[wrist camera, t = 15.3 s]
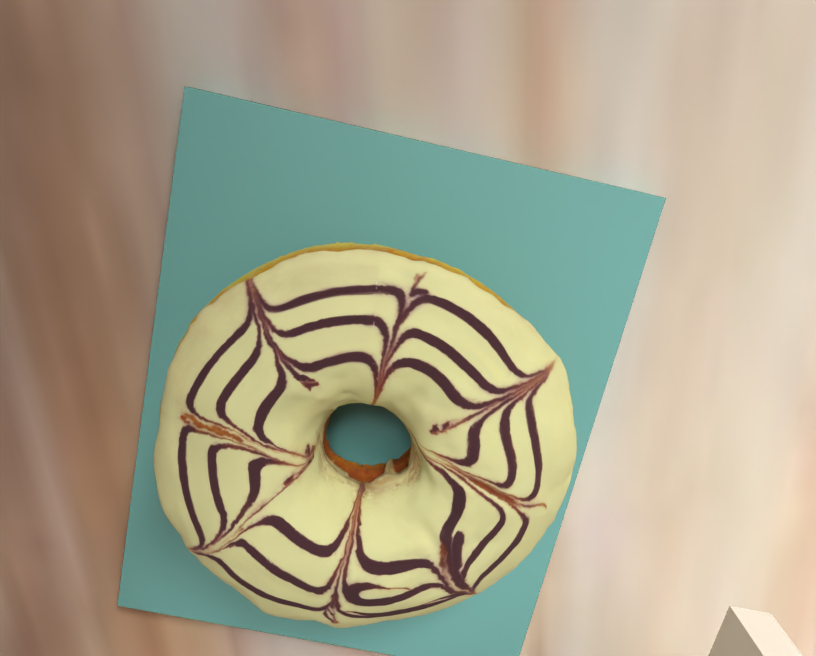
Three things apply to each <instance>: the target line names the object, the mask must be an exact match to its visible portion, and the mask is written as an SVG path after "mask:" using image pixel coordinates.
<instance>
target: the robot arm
mask: <svg viewBox="0 0 816 656" xmlns="http://www.w3.org/2000/svg"><path fill="white" fill-rule="evenodd" d="M709 656H802V655H801V653H800V652H799V651H798V649H797V648H796V647H795V645H794V644H793V643H792V641H791V640H790V639H789V637H788V636H787V635H786V633H785V632H784V631H783V629H782V628H781V626H780V625H779V624H778V622H777V621H776V620H775V618H774V617H773V616H772V614H771V613H766V612H760V611H755V610H750V609H744V608H739V607H734V606H729V609H728V611H727V613H726V616H725V618H724V621H723V623H722V625H721V628H720V630H719V632H718V635H717V637H716V639H715V642H714V644H713V646H712V649H711V651H710V653H709Z"/></svg>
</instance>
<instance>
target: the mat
mask: <svg viewBox="0 0 816 656" xmlns="http://www.w3.org/2000/svg"><path fill="white" fill-rule="evenodd" d="M665 199H666V198H663V197H659V196H655V195H651V194H646V193H642V192H638V191H633V190H629V189H625V188H621V187H616V186H612V185H608V184H603V183H599V182H595V181H590V180H586V179H582V178H578V177H573V176H569V175H565V174H560V173H556V172H552V171H547V170H543V169H539V168H535V167H530V166H526V165H522V164H517V163H513V162H509V161H504V160H500V159H496V158H492V157H487V156H483V155H479V154H474V153H470V152H466V151H462V150H457V149H453V148H449V147H444V146H440V145H436V144H431V143H427V142H423V141H419V140H414V139H410V138H406V137H401V136H397V135H393V134H388V133H384V132H380V131H376V130H371V129H367V128H363V127H358V126H354V125H350V124H345V123H341V122H337V121H333V120H328V119H324V118H320V117H315V116H311V115H307V114H302V113H298V112H294V111H290V110H285V109H281V108H277V107H272V106H268V105H264V104H259V103H255V102H251V101H247V100H242V99H238V98H234V97H229V96H225V95H221V94H216V93H212V92H208V91H204V90H199V89H195V88H191V87H186V86H185V87H184V95H183V103H182V110H181V118H180V126H179V133H178V141H177V149H176V157H175V164H174V172H173V180H172V187H171V195H170V203H169V211H168V218H167V226H166V234H165V241H164V249H163V257H162V265H161V272H160V280H159V288H158V296H157V303H156V311H155V319H154V326H153V334H152V342H151V350H150V357H149V365H148V373H147V380H146V388H145V396H144V404H143V411H142V419H141V427H140V435H139V442H138V450H137V458H136V465H135V473H134V481H133V489H132V496H131V504H130V512H129V519H128V527H127V535H126V543H125V550H124V558H123V566H122V574H121V581H120V589H119V597H118V604H117V606H122V607H127V608H133V609H138V610H144V611H149V612H155V613H160V614H166V615H172V616H177V617H183V618H188V619H194V620H199V621H205V622H210V623H216V624H222V625H227V626H233V627H238V628H244V629H249V630H255V631H260V632H266V633H272V634H277V635H283V636H288V637H294V638H299V639H305V640H310V641H316V642H322V643H327V644H333V645H338V646H344V647H349V648H355V649H360V650H366V651H372V652H377V653H383V654H388V655H394V656H519V654H520V651H521V648H522V645H523V642H524V639H525V636H526V633H527V629H528V626H529V623H530V620H531V617H532V614H533V611H534V608H535V605H536V601H537V598H538V595H539V592H540V589H541V586H542V583H543V580H544V576H545V573H546V570H547V567H548V564H549V561H550V558H551V555H552V552H553V548H554V545H555V542H556V539H557V536H558V533H559V530H560V527H561V523H562V520H563V517H564V514H565V511H566V508H567V505H568V502H569V499H570V495H571V492H572V489H573V486H574V483H575V480H576V477H577V474H578V471H579V467H580V464H581V461H582V458H583V455H584V452H585V449H586V446H587V442H588V439H589V436H590V433H591V430H592V427H593V424H594V421H595V418H596V414H597V411H598V408H599V405H600V402H601V399H602V396H603V393H604V389H605V386H606V383H607V380H608V377H609V374H610V371H611V368H612V365H613V361H614V358H615V355H616V352H617V349H618V346H619V343H620V340H621V337H622V333H623V330H624V327H625V324H626V321H627V318H628V315H629V312H630V308H631V305H632V302H633V299H634V296H635V293H636V290H637V287H638V284H639V280H640V277H641V274H642V271H643V268H644V265H645V262H646V259H647V256H648V252H649V249H650V246H651V243H652V240H653V237H654V234H655V231H656V227H657V224H658V221H659V218H660V215H661V212H662V209H663V206H664V203H665ZM336 242H339V243H345V242H347V243H350V242H353V243H356V244H369V245H372V244H377V245H382V246H387V247H391V248H395V249H398V250H402V251H406V252H408V253H412V254H416V255H418V256H422V257H428V258H433V259H436V260H438V261H441V262H443V263H446V264H448V265H450V266H451V267H455V268H458V269H460V270H461V271H463V272H464V273H466V274H467V275H469V276H470V277H472V278H474V279H476V280H477V281H479V282H481V283H482V284H483V285H485V286H486V287H487V288H489V289H490V290H492V291H493V292H494V293H496V294H497V295H498V296H500V297H501V298H502V299H503V300H504V301H505V302H506V303H507V304H508V305H509V306H511V307H512V308H513V309H514V310H515V311H516V312H517V313H518V314H519V315H521V316H522V317H523V318H524V319H525V320H527V321H529V322H530V323H531V324H532V325H533V327H535V329H536V331H537V332H538V333H539V334H540V336H541V337H542V338H543V340H544V341H545V342H546V343H547V344H548V345H549V346H550V347H551V349H552V350H553V351H554V352H555V353H556V354H557V355H558V356H559V357H560V359H561V361H562V363H563V365H564V367H565V369H566V372H567V376H568V382H569V391H570V395H571V400H572V406H573V417H574V426H575V429H576V437H577V453H576V459H575V464H574V467H573V471H572V476H571V481H570V484H569V486H568V489H567V492H566V495H565V497H564V499H563V502H562V504H561V506H560V508H559V510H558V512H557V514H556V517H555V519H554V521H553V522H552V524H551V525H550V526H549V527H548V528H547V530H546V531H545V533H544V534H543V536H542V538H541V539H540V540H539V541H538V543H537V544H536V545H535V547H534V548H533V550H532V551H531V552H530V553H529V554H528V556H527V557H526V558H525V559H524V560H523V561H522V562H520V563H519V565H518V566H517V567H516V568H514V569H513V570H512V571H511V572H509V573H508V574H506V575H505V576H503V577H502V578H501V579H499V580H498V581H497V582H496V583H494V584H493V585H491V586H490V587H488V588H487V589H485V590H484V591H482V592H481V593H479V594H476V595H474V596H472V597H470V598H468V599H466V600H464V601H462V602H460V603H458V604H455V605H453V606H451V607H448V608H445V609H442V610H439V611H436V612H432V613H429V614H426V615H421V616H415V617H411V618H405V619H400V620H387V621H382V622H378V623H373V624H368V625H361V626H354V627H349V628H334V627H331V626H329V625H326V624H323V623H321V622H318V621H315V620H293V619H288V618H283V617H276V616H273V615H269V614H266V613H264V612H263V611H261V610H260V609H259V608H258V607H257V606H256V605H254V604H253V603H252V602H251V601H250V600H249V599H247V598H246V597H245V596H243V595H242V594H241V593H239V592H238V591H237V590H235V589H234V588H233V587H232V586H230V585H228V584H227V583H225V582H224V581H222V580H221V579H220V578H219V577H217V576H216V575H214V574H213V573H212V572H211V571H210V570H209V569H208V568H206V567H205V566H204V565H202V564H201V562H200V561H199V560H198V558H197V557H196V556H195V555H193V554H192V553H191V552H190V551H189V550H188V549H187V547H186V546H185V544H184V542H183V539H182V537H181V535H180V534H179V533H178V532H177V530H176V529H175V528H174V526H173V525H172V524H171V523H170V521H169V519H168V518H167V516H166V515H165V513H164V512H163V509H162V507H161V503H160V500H159V495H158V490H157V483H156V477H155V472H154V448H155V442H156V438H157V435H158V430H159V419H160V404H161V400H162V397H163V392H164V388H165V382H166V378H167V371H168V368H169V366H170V364H171V362H172V360H173V358H174V355H175V352H176V350H177V347H178V344H179V342H180V340H181V339H182V338H183V337H184V335H185V334H186V332H187V330H188V327H189V324H190V322H191V321H192V320H193V319H194V317H195V316H196V315H197V314H198V313H199V311H201V310H202V309H203V308H204V307H205V306H206V305H207V304H208V303H209V302H210V301H211V300H212V299H213V298H215V297H216V296H217V295H218V294H219V293H220V292H221V291H222V290H223V289H225V288H226V287H228V286H229V285H230V284H232V283H233V282H235V281H236V280H237V279H239V278H241V277H242V276H244V275H245V274H247V273H249V272H250V271H252V270H253V269H255V268H257V267H259V266H261V265H263V264H266V263H267V262H269V261H273V260H274V259H276V258H278V257H280V256H284V255H287V254H289V253H291V252H294V251H297V250H301V249H304V248H307V247H312V246H316V245H325V244H335V243H336ZM326 432H327V433H326V439H327V440H328V441H329V446H330V448H331V449H332V451H333V452H334V453H335V454H337V455H339V456H341V457H342V458H344V459H345V460H347V461H352V462H354V463H357V462H358V464H360V465H361V464H362V465H365V464H369V465H372V466H373V465H376V464H381V463H383V464H384V463H386V462H387V461H388V460H389V459H391V458H393V459H395V460H396V459H399V458H400V457H401V456H402V454H404V453H405V452H406V451H407V450H408V449H409V448H410V446H411V440H410V435H409V432H408V430H407V428H406V427H405V425H404V423H403V422H402V421H401V420H400V419H399V418H398V417H397V416H396V415H395V414H394V413H392V412H391V411H389V410H388V409H386V408H384V407H382V406H375V405H369V404H365V403H349V404H346V405H342V406H338V407H337V409H336V410H334V412H333V413H332V415H331V416H330V419H329V422H328V425H327V429H326Z"/></svg>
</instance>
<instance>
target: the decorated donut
mask: <svg viewBox="0 0 816 656" xmlns="http://www.w3.org/2000/svg"><path fill="white" fill-rule="evenodd" d="M349 403H365V404H369V405H375V406H382V407H384V408H386V409H388V410H389V411H391V412H392V413H394V414H395V415H396V416H397V417H398V418H399V419H400V420H401V421H402V422H403V423H404V425H405V427H406V428H407V430H408V432H409V435H410V440H411V446H410V448H409V449H408V450H407V451H406V452H405V453H404V454H402V456H401V457H400V458H399V459H396V460H395V459H393V458H391V459H389V460H388V461H387V462H386V463H384V464H383V463H381V464H376V465H373V466H372V465H369V464H365V465H362V464H361V465H360V464H358V462H357V463H354V462H352V461H347V460H345V459H344V458H342V457H341V456H339V455H337V454H335V453H334V452H333V451H332V449H331V448H330V446H329V441H328V440H327V439H326V433H327V432H326V429H327V425H328V422H329V419H330V416H331V415H332V413H333V412H334V410H336V409H337V407H338V406H342V405H346V404H349ZM576 453H577V437H576V429H575V426H574V417H573V406H572V400H571V395H570V391H569V382H568V376H567V372H566V369H565V367H564V365H563V363H562V361H561V359H560V357H559V356H558V355H557V354H556V353H555V352H554V351H553V350H552V349H551V347H550V346H549V345H548V344H547V343H546V342H545V341H544V340H543V338H542V337H541V336H540V334H539V333H538V332H537V331H536V329H535V327H533V325H532V324H531V323H530V322H529V321H527V320H525V319H524V318H523V317H522V316H521V315H519V314H518V313H517V312H516V311H515V310H514V309H513V308H512V307H511V306H509V305H508V304H507V303H506V302H505V301H504V300H503V299H502V298H501V297H500V296H498V295H497V294H496V293H494V292H493V291H492V290H490V289H489V288H487V287H486V286H485V285H483V284H482V283H481V282H479V281H477V280H476V279H474V278H472V277H470V276H469V275H467V274H466V273H464V272H463V271H461V270H460V269H458V268H455V267H451V266H450V265H448V264H446V263H443V262H441V261H438V260H436V259H433V258H428V257H422V256H418V255H416V254H412V253H408V252H406V251H402V250H398V249H395V248H391V247H387V246H382V245H377V244H372V245H369V244H356V243H353V242H350V243H347V242H345V243H339V242H336V243H335V244H325V245H316V246H312V247H307V248H304V249H301V250H297V251H294V252H291V253H289V254H287V255H284V256H280V257H278V258H276V259H274V260H273V261H269V262H267V263H266V264H263V265H261V266H259V267H257V268H255V269H253V270H252V271H250V272H249V273H247V274H245V275H244V276H242V277H241V278H239V279H237V280H236V281H235V282H233V283H232V284H230V285H229V286H228V287H226V288H225V289H223V290H222V291H221V292H220V293H219V294H218V295H217V296H216V297H215V298H213V299H212V300H211V301H210V302H209V303H208V304H207V305H206V306H205V307H204V308H203V309H202V310H201V311H199V313H198V314H197V315H196V316H195V317H194V319H193V320H192V321H191V322H190V324H189V327H188V330H187V332H186V334H185V335H184V337H183V338H182V339H181V340H180V342H179V344H178V347H177V350H176V352H175V355H174V358H173V360H172V362H171V364H170V366H169V368H168V371H167V378H166V382H165V388H164V392H163V397H162V400H161V404H160V419H159V430H158V435H157V438H156V442H155V448H154V472H155V477H156V483H157V490H158V495H159V500H160V503H161V507H162V509H163V512H164V513H165V515H166V516H167V518H168V519H169V521H170V523H171V524H172V525H173V526H174V528H175V529H176V530H177V532H178V533H179V534H180V535H181V537H182V539H183V542H184V544H185V546H186V547H187V549H188V550H189V551H190V552H191V553H192V554H193V555H195V556H196V557H197V558H198V560H199V561H200V562H201V564H202V565H204V566H205V567H206V568H208V569H209V570H210V571H211V572H212V573H213V574H214V575H216V576H217V577H219V578H220V579H221V580H222V581H224V582H225V583H227V584H228V585H230V586H232V587H233V588H234V589H235V590H237V591H238V592H239V593H241V594H242V595H243V596H245V597H246V598H247V599H249V600H250V601H251V602H252V603H253V604H254V605H256V606H257V607H258V608H259V609H260V610H261V611H263V612H264V613H266V614H269V615H273V616H276V617H283V618H288V619H293V620H315V621H318V622H321V623H323V624H326V625H329V626H331V627H334V628H349V627H354V626H361V625H368V624H373V623H378V622H382V621H387V620H400V619H405V618H411V617H415V616H421V615H426V614H429V613H432V612H436V611H439V610H442V609H445V608H448V607H451V606H453V605H455V604H458V603H460V602H462V601H464V600H466V599H468V598H470V597H472V596H474V595H476V594H479V593H481V592H482V591H484V590H485V589H487V588H488V587H490V586H491V585H493V584H494V583H496V582H497V581H498V580H499V579H501V578H502V577H503V576H505V575H506V574H508V573H509V572H511V571H512V570H513V569H514V568H516V567H517V566H518V565H519V563H520V562H522V561H523V560H524V559H525V558H526V557H527V556H528V554H529V553H530V552H531V551H532V550H533V548H534V547H535V545H536V544H537V543H538V541H539V540H540V539H541V538H542V536H543V534H544V533H545V531H546V530H547V528H548V527H549V526H550V525H551V524H552V522H553V521H554V519H555V517H556V514H557V512H558V510H559V508H560V506H561V504H562V502H563V499H564V497H565V495H566V492H567V489H568V486H569V484H570V481H571V476H572V471H573V467H574V464H575V459H576Z"/></svg>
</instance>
